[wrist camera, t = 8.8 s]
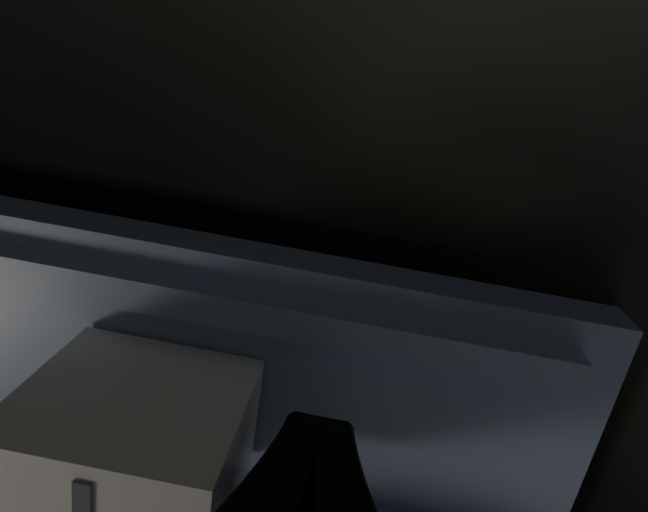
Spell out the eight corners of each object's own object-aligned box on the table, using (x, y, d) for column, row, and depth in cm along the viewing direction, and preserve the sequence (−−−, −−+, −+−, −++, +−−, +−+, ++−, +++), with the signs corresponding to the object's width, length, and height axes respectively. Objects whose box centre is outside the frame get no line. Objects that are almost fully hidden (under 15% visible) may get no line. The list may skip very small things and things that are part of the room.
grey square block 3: (251, 456, 12) (198, 617, 9) (86, 423, 13) (-34, 567, 9) (264, 360, 11) (211, 494, 8) (86, 326, 12) (-47, 442, 8)
